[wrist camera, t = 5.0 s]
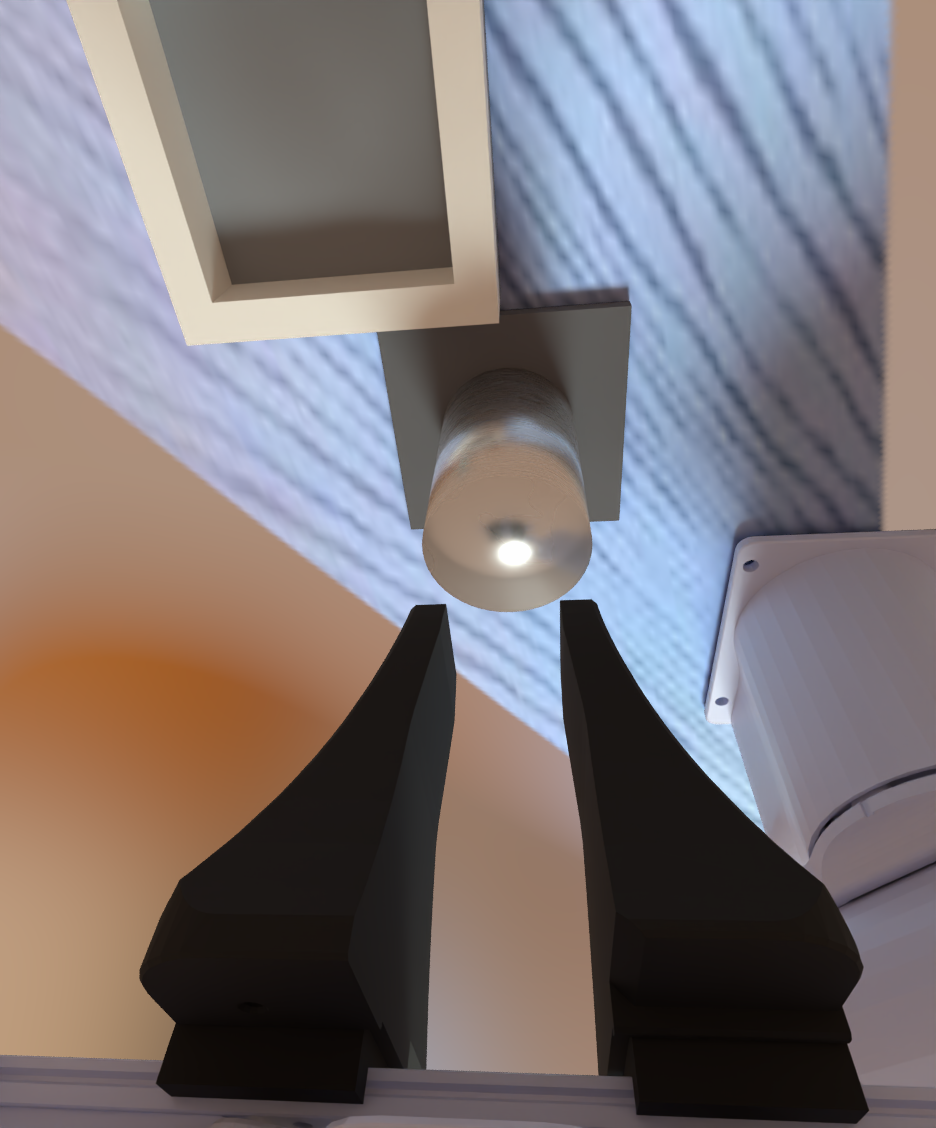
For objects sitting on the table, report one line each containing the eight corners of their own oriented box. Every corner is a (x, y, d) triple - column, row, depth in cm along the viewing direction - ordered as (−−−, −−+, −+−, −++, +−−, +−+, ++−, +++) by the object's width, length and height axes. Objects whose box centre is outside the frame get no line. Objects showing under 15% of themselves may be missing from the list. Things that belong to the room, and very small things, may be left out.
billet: (573, 483, 22) (590, 609, 17) (449, 489, 22) (433, 614, 17) (574, 363, 19) (594, 471, 15) (435, 372, 20) (410, 480, 15)
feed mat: (617, 513, 23) (619, 520, 23) (412, 522, 24) (411, 529, 23) (629, 301, 19) (631, 305, 18) (378, 319, 19) (376, 324, 19)
